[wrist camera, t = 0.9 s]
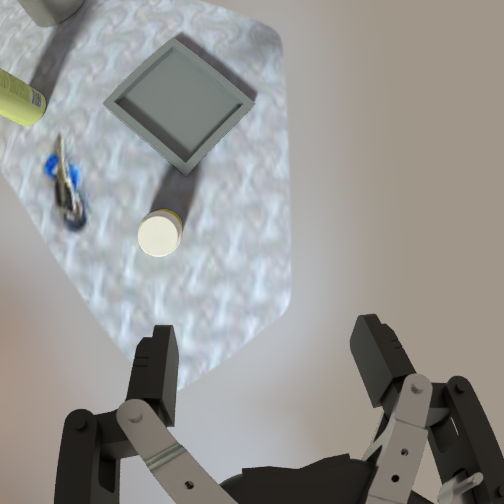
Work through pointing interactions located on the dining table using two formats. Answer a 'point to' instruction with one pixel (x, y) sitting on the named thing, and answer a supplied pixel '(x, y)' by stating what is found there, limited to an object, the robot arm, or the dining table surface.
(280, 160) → the dining table surface
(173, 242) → the supplement bottle
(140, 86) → the tray
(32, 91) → the tube
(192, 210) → the dining table surface
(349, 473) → the robot arm
